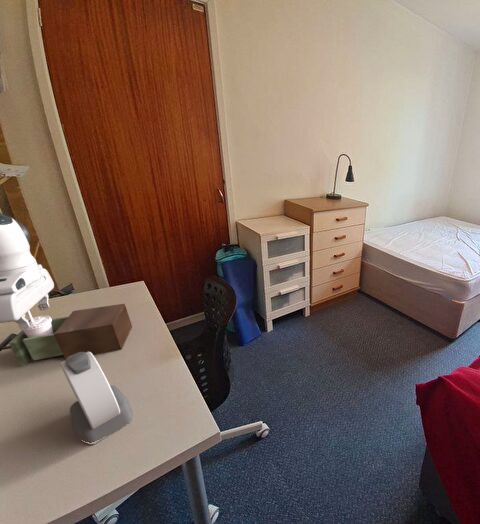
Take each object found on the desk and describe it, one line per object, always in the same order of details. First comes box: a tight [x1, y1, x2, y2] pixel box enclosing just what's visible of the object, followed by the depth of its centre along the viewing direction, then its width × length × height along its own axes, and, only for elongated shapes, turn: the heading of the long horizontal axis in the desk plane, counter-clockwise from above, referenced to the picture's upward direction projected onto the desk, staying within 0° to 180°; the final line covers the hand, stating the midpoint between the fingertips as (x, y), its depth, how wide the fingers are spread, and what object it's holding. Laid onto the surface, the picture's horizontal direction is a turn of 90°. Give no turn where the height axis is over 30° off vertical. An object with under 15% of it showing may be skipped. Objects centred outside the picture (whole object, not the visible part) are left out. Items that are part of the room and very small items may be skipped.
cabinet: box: [54, 303, 133, 360], centre depth 89 cm, size 14×13×10 cm
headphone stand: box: [60, 352, 133, 443], centre depth 63 cm, size 16×10×18 cm, turn 53°
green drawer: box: [0, 316, 69, 366], centre depth 84 cm, size 17×11×8 cm, turn 113°
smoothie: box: [18, 310, 53, 338], centre depth 82 cm, size 6×6×14 cm
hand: (36, 317), depth 81 cm, fingers open, 8 cm apart
